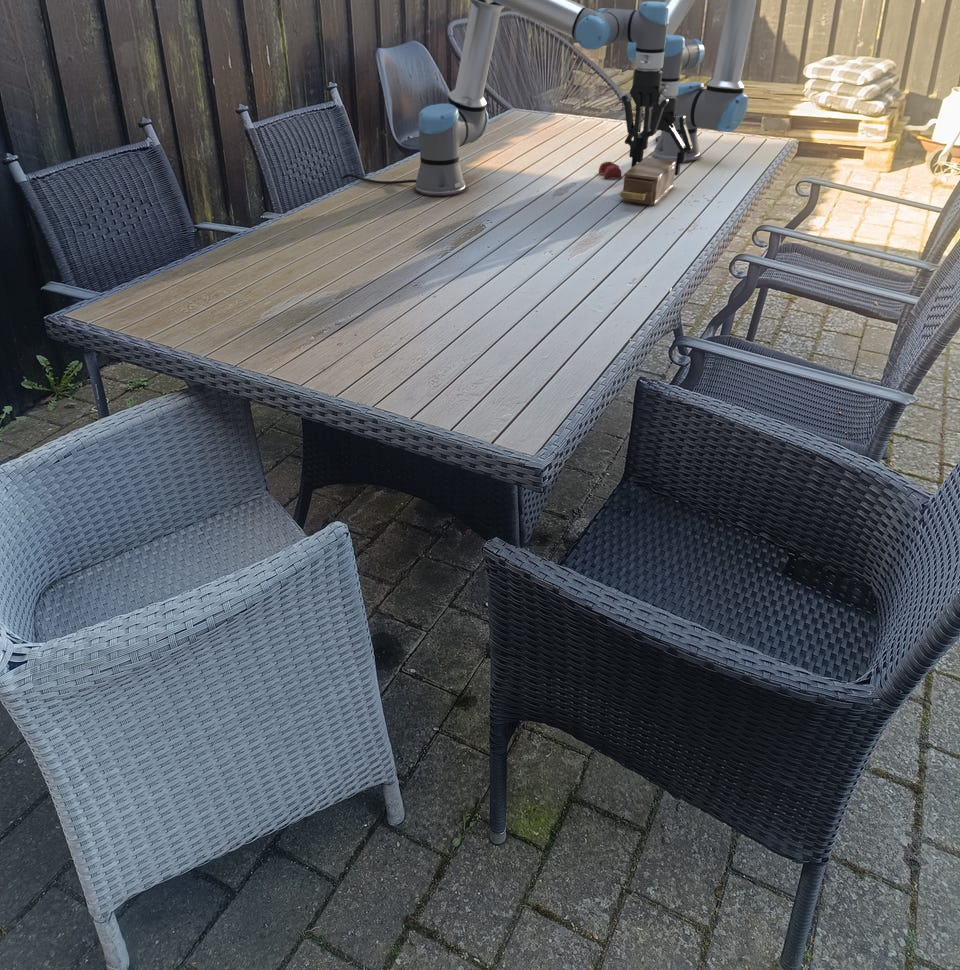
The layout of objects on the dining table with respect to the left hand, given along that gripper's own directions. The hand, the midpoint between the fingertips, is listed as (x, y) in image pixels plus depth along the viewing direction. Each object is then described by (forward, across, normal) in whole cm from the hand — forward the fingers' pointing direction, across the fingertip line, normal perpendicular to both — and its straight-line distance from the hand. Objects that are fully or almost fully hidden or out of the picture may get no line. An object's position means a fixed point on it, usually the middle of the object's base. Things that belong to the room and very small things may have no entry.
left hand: (638, 160), depth 237 cm
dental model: (+13, -17, +27) cm, 35 cm away
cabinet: (+13, 0, +14) cm, 19 cm away
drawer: (+12, 0, +9) cm, 15 cm away
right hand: (+8, 0, +19) cm, 21 cm away
